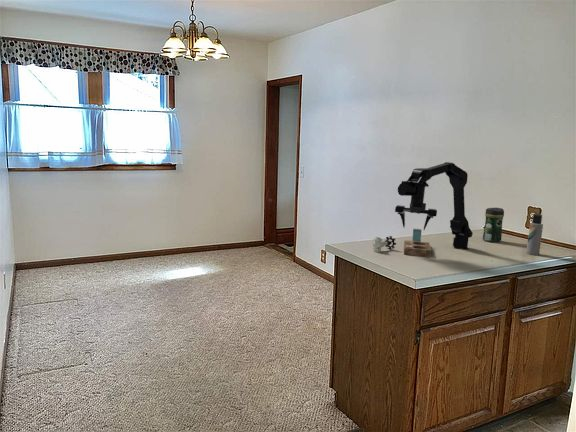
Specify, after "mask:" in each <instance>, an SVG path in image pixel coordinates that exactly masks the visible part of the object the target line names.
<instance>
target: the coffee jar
mask: <svg viewBox="0 0 576 432" xmlns="http://www.w3.org/2000/svg"><path fill="white" fill-rule="evenodd" d="M484 216H485V221H484V229H483V234H482V240H483V241H484V242H487V243H488V242H490V243H498V242H501V241H502V237H503V235H502V234H503V221H504V216H505V211H504V209H503V208H501V207H487V208H486V209H485V213H484Z"/></svg>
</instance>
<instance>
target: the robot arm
mask: <svg viewBox="0 0 576 432" xmlns="http://www.w3.org/2000/svg"><path fill="white" fill-rule="evenodd" d="M442 174H445V175H446V176H447V177H448V180H449V184H450V185H451V187H452V189H453V190H452V191H453V192H452V193H453V218H452V219H450V220H449V223H450V225H449V228H450V230H451V234H452V235H454V237H453V238H452V239H453V240H452V247H454V249H462V250H468V249H469V247H468V245H469V238H472V237H473V233H474V232H473V231H472V230H471V227H470V225H469V220H468V219H467V217H466V214H465V213H466V212H465V211H466V210H465V187H466V185H467V183H468V176H469V175H468V172H467V171H466V170H464V169H462V168H460V167H459V166H457V165H456V164H455V163H454V162H450V161H448V162H447V161H446V162H443V163H440V164H436V165H434V166H430V167H427V168H425V167H424V168H423V167H422V168H421V167H419V168H417V167H416V168H414V169H412V172H411V173H410V174H409V176H408V178H407V179H406V180H402V181H401V183H399V185H398V186H397V193H398V195H399V196H404V197H410V203H409V207H406V205H401V204H400V205H399V204H397V205H396V206H395V209H394V212H395V213H397V214H398V215H399V216H400V219H401V223H402V227H403V228H404V229H405V226H406V213H410V214H423V215H424V214H426V218H425V222H424V226H423V231H425V229H426V227H427V226H428V223H429V222H430V220H431V219H434V217H437V215H438V210H437V209H436V208H428V209H426V208H427V204H426V202H424V201H425V200H424V199H425V194H426V193H425V190H426V187H427V188H428V187H430V186H429V183H427V181H430V180H431V179H432V177H435V176H438V175H442Z"/></svg>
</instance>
